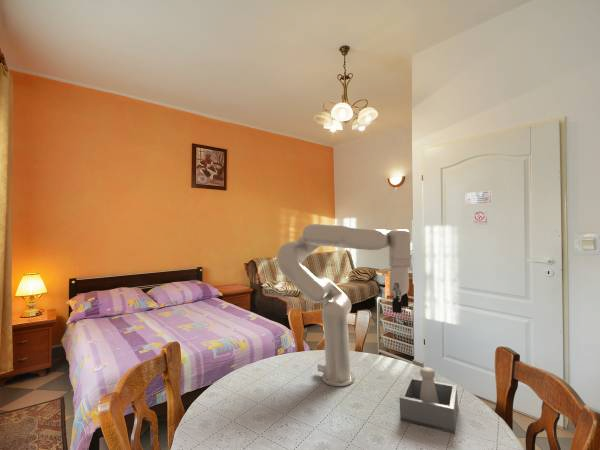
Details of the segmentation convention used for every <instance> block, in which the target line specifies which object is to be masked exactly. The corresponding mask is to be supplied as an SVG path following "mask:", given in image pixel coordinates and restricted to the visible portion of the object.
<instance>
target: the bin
mask: <svg viewBox="0 0 600 450" xmlns="http://www.w3.org/2000/svg"><path fill="white" fill-rule="evenodd" d="M422 379H423V378H417V377H412V376H409V377H408V378H407V380H406V382H405V384H404V387H403V389H402V391H401V394H400V396H399V413H400V414H399V415H400V416H399V418H400V422H404V423H407V424H409V423H410V424H413V425H417V426H421V427H424V428H429V429H433V430H436V431H437V430H438V431H442V432H445V433H449V434H454V435H455V434H456V428H457V420H458V409H459V401H458V384H450V383H445V382H440V381H435V380H434V384H435V389H436V393H437V397H438V402H439V404H437V403H432V402H428V401H423V400H419V398H420V392H421V385H422Z"/></svg>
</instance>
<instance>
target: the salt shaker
mask: <svg viewBox="0 0 600 450" xmlns="http://www.w3.org/2000/svg"><path fill="white" fill-rule="evenodd" d="M419 373H420V374H419V375H420V376H421V377H422V378H421V379H422V385H421V392H420V398H419V400H423V401H428V402H432V403H437V404H439V402H438V397H437V393H436V389H435V384H434V381H435V379H434V378H435V376H436V373H435V370H434V369H433V368H432V367H427V366H425V367H422V368H420V371H419Z"/></svg>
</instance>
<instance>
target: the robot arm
mask: <svg viewBox="0 0 600 450" xmlns="http://www.w3.org/2000/svg"><path fill="white" fill-rule="evenodd" d="M321 246H323V247H334V248H342V249H353V250H363V251H380V250H382V249H387V248H388V252H389V253H388V254H389V255H388V257H389V258H388V260H389V261H388V263H389V266H388V267H389V268H390V273H389V294H390V295H391V301H392V302H391V305H392V306H391V311H392V313H395V314H402V313H403V312H402V311H403V309H402V308H403V307H406V308H409V289H410V278H409V276H410V274H409V273H410V272H409V269H410V268H411V267H412V264H411V263H412V261H411V232H410V231H409V230H408V229H391V230H389V229H381V228H379V229H378V228H376V229H373V228H372V229H369V228H368V229H367V228H354V227H348V226H346V225H333V224H319V223H312V224H308V225H306V226H305V227H304V228H303V230H302V235H301V236H300V237H299V238H298V239H297V240H295V241H288V242H286V243H284V244H282V245H281V246H280V248H278V249H279V250H278V252H277V257H276V258H277V259H276V261H277V266H278V269H279V270H280V271H281V273H282V274H283V275H284V277H286V278H287V280H288V281H290V282H291V283H292V284H293V286H295V288H296V289H297V290H298V291H300V293H301V294H302V295H303V296H304V297H305V298H306V299H307V300H308V301H310V302H311V303H314V304H319V303H322V304H324V305H323V306H322V307H323V308H322V309H321V319H322V325H323V334H324V354H325V356H324V357H325V358H324V359H325V364H322V363H318V364H317V371H318V372H320V373H323V374H322V376H321V377H322V382H323V383H325V384H327V385H329V386H332V387H346V386H349V385H351V384H353V383H354V382H355V377H356V376H355V374H354V373H353V372H351V359H350V357H351V356H350V337H349V326H348V315H349V314H350V312H351V310H352V302H351V300H350V298H349V297H348V296H347V294H345V292H343V291H342V290H341V289H340V287H338V286H337V285H336V284H335V283H334V282H333V281H332V280H331V279H330V278H328V277H325V276H322V275H321V276H316V275H315V274H314V273H312V272H311V271H310V270H309V268H307V267H305V266H304V265H302V263H300V261H302V260H305V259H306V258H308V257H309V256H310V255H311V254H312V253H314V252H315V251H316V250H317V249H318V248H319V247H321Z"/></svg>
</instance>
